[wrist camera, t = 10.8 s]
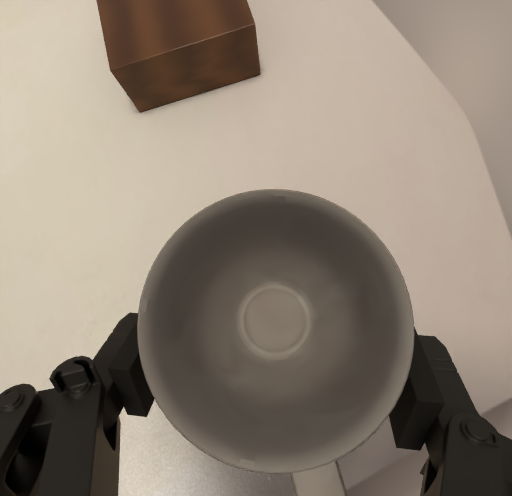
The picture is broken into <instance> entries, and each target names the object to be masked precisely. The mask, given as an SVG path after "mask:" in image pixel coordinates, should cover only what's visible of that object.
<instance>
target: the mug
mask: <svg viewBox="0 0 512 496" xmlns="http://www.w3.org/2000/svg"><path fill="white" fill-rule="evenodd" d="M137 335H138V347H139V355H140V359H141V364H142V368H143V371H144V375H145V378H146V381H147V383H148V386H149V388H150V390H151V393H152V395H153V396H154V398H155V400H156V402H157V404H158V406H159V407H160V409H161V410H162V412H163V413H164V415H165V416H166V418H167V419H168V420H169V421H170V422H171V424H172V425H173V426H174V427H175V428H176V429H177V430H178V431H179V432H180V433H181V434H182V435H183V436H184V437H185V438H186V439H187V440H188V441H189V442H191V443H192V444H193V445H194V446H196V447H197V448H198V449H200V450H201V451H203V452H205V453H206V454H208V455H209V456H211V457H213V458H215V459H217V460H219V461H221V462H223V463H225V464H228V465H231V466H234V467H236V468H240V469H244V470H248V471H252V472H259V473H267V474H288V473H290V474H291V478H292V482H293V486H294V490H295V494H296V496H347V494H346V490H345V486H344V483H343V480H342V476H341V473H340V469H339V466H338V463H337V460H338V459H340V458H342V457H344V456H345V455H347V454H349V453H350V452H352V451H354V450H355V449H356V448H358V447H359V446H360V445H361V444H363V443H364V442H365V441H367V440H368V439H369V438H370V437H371V436H372V435H373V434H374V433H375V432H376V431H377V430H378V428H379V427H380V426H381V425H382V424H383V422H384V421H385V420H386V419H387V417H388V416H389V414H390V413H391V411H392V410H393V408H394V407H395V405H396V403H397V401H398V399H399V397H400V395H401V393H402V391H403V388H404V386H405V383H406V380H407V377H408V374H409V370H410V366H411V362H412V355H413V349H414V319H413V311H412V305H411V301H410V297H409V293H408V290H407V287H406V284H405V281H404V278H403V276H402V274H401V272H400V269H399V267H398V265H397V264H396V262H395V260H394V258H393V257H392V255H391V253H390V252H389V251H388V249H387V248H386V246H385V245H384V244H383V242H382V241H381V240H380V239H379V238H378V236H377V235H376V234H375V233H374V232H373V231H372V230H371V229H370V228H369V227H368V226H367V225H366V224H365V223H363V222H362V221H361V220H360V219H358V218H357V217H356V216H354V215H353V214H352V213H350V212H349V211H347V210H346V209H344V208H342V207H340V206H338V205H337V204H335V203H333V202H330V201H328V200H326V199H323V198H321V197H318V196H315V195H312V194H308V193H303V192H299V191H292V190H283V189H265V190H256V191H249V192H244V193H240V194H236V195H233V196H230V197H227V198H225V199H222V200H220V201H218V202H215V203H214V204H212V205H210V206H208V207H206V208H204V209H203V210H201V211H200V212H198V213H197V214H195V215H194V216H193V217H191V218H190V219H189V220H188V221H187V222H185V223H184V224H183V225H182V226H181V227H180V228H179V229H178V230H177V231H176V232H175V233H174V234H173V235H172V237H171V238H170V239H169V240H168V241H167V243H166V244H165V245H164V247H163V248H162V250H161V251H160V253H159V254H158V256H157V258H156V259H155V261H154V263H153V265H152V267H151V269H150V271H149V274H148V276H147V279H146V282H145V285H144V288H143V291H142V295H141V299H140V305H139V311H138V323H137Z"/></svg>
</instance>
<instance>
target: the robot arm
mask: <svg viewBox="0 0 512 496" xmlns="http://www.w3.org/2000/svg"><path fill="white" fill-rule="evenodd" d="M137 323H138V313H129V314H128V315H126V316H125V317H124V318H123V319H121V320H120V321H119V322H118V324H117V325H116V327H115V328H114V330H113V333H111V334H110V336H109V337H108V339H107V341H105V343H104V344H103V346H102V347H101V349H100V350H99V352H98V353H97V355H96V356H95V357H94V359H93V360H91V359H90V358H89V357H85V356H79V357H74V358H71V359H68V360H66V361H65V362H63V363H62V364H60V365H59V366H58V367H57V368H56V369H55V370H54V371H53V372H52V374H51V376H50V378H49V379H50V381H51V382H52V384H53V386H54V387H55V388H53V389H48V390H43V391H38V392H37V391H36V390H35V388H34V387H33V386H31V385H30V384H20V385H16V386H13V387H11V388H9V389H7V390H5V391H4V392H3V393H1V394H0V496H118V483H119V454H120V425H121V423H120V418H119V415H120V413H121V411H122V409H123V407H124V408H125V410H126V412H127V415H135V416H143V417H147V415H148V413H149V411H150V408H151V406H152V404H153V401H154V399H155V398H154V396H153V395H152V393H151V390H150V388H149V386H148V383H147V381H146V378H145V375H144V371H143V368H142V364H141V359H140V355H139V347H138V335H137ZM389 418H390V423H391V427H392V431H393V435H394V440H395V444H396V448H403V449H411V450H419V451H420V450H421V448H422V446H423V444H424V443H425V444H426V447H427V450H428V453H429V457H428V459H427V461H426V462H425V464H424V466H423V468H422V470H421V472H420V474H422V475H424V477H423V483H422V488H421V494H420V496H512V440H511V439H509V438H507V437H505V436H503V435H501V434H499V433H498V432H497V431H496V429H495V428H494V427H493V426H492V425H491V424H490V423H489V422H488V421H487V420H486V419H484V418H482V417H481V416H480V415H479V414H478V412H477V411H476V409H475V407H474V404H473V402H472V400H471V398H470V396H469V394H468V392H467V390H466V388H465V386H464V384H463V382H462V380H461V378H460V376H459V373H457V369H456V367H455V365H454V363H453V362H452V359H451V357H450V355H449V353H448V351H447V349H446V347H445V346H444V345H443V344H442V343H441V342H440V341H439V340H438V339H437V338H436V337H435V336H422V335H417V332H416V330H415V327H414V349H413V355H412V362H411V366H410V370H409V374H408V377H407V380H406V383H405V386H404V388H403V391H402V393H401V395H400V397H399V399H398V401H397V403H396V405H395V407H394V408H393V410H392V411H391V413H390V414H389Z"/></svg>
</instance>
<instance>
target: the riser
mask: <svg viewBox="0 0 512 496" xmlns="http://www.w3.org/2000/svg"><path fill="white" fill-rule="evenodd" d="M97 5H98V10H99V15H100V20H101V25H102V31H103V36H104V41H105V46H106V51H107V56H108V61H109V67H110V71H111V72H112V74H113V75H114V76H115V78H116V79H117V81H118V82H119V83H120V85H121V86H122V88H123V89H124V90H125V92H126V93H127V95H128V96H129V98H130V99H131V100H132V102H133V103H134V105H135V106H136V107H137V109H138V110H139V112H143V111H146V110H149V109H152V108H155V107H158V106H162V105H165V104H168V103H171V102H174V101H178V100H181V99H184V98H187V97H190V96H193V95H197V94H200V93H203V92H206V91H209V90H213V89H216V88H219V87H222V86H225V85H228V84H232V83H235V82H238V81H241V80H244V79H248V78H251V77H254V76H257V75H260V64H259V55H258V46H257V37H256V27H255V22H254V19H253V17H252V14H251V11H250V8H249V5H248V2H247V0H97Z"/></svg>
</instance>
